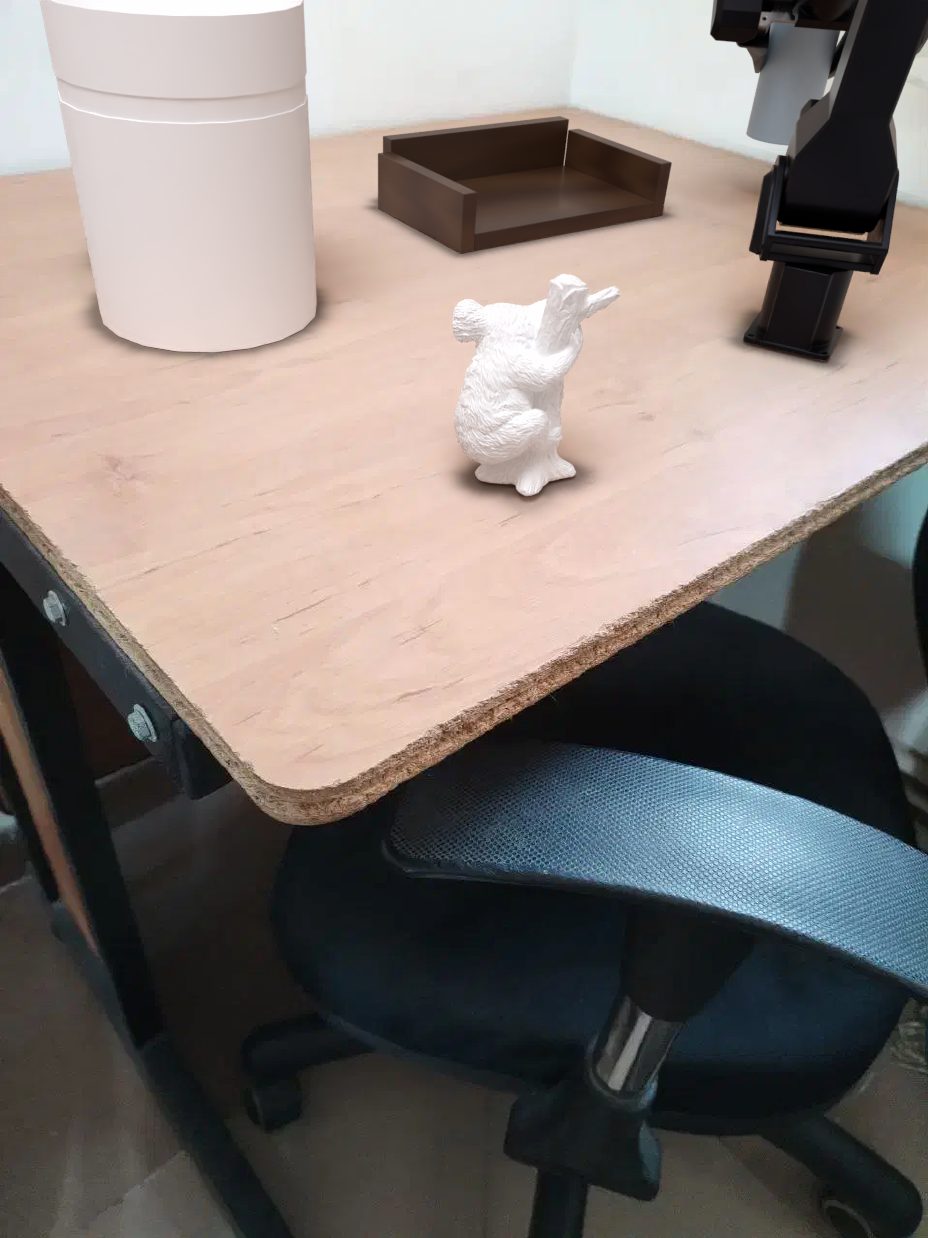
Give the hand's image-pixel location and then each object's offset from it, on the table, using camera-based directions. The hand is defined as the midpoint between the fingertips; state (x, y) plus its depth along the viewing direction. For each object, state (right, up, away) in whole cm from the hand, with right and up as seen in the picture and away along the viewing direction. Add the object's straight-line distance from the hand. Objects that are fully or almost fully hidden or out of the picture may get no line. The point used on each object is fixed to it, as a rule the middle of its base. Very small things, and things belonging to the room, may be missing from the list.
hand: (792, 71), depth 93 cm
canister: (-51, -30, -21) cm, 63 cm away
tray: (-26, -13, +1) cm, 29 cm away
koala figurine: (-29, -45, -37) cm, 65 cm away
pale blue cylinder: (0, -5, +3) cm, 6 cm away
